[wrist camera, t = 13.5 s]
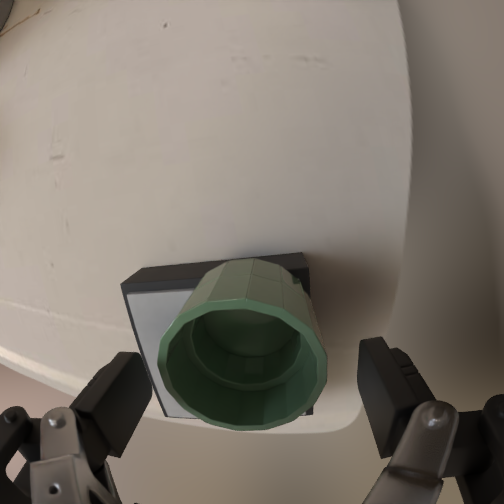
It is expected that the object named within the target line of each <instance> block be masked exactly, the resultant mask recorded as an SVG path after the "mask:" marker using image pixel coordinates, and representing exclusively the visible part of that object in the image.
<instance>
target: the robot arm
mask: <svg viewBox="0 0 504 504" xmlns="http://www.w3.org/2000/svg"><path fill="white" fill-rule="evenodd" d="M357 383H358V389H359V393H360V395H361V398H362V401H363V404H364V407H365V410H366V413H367V416H368V419H369V422H370V425H371V428H372V431H373V435H374V438H375V441H376V444H377V448H378V451H379V454H380V457H381V459H383V458H387V457H391V456H392V458H391V460H390V462H389V463H388V465H387V467H385V468H384V469H383V471H382V473H381V474H380V476H379V477H378V479H377V481H376V482H375V484H374V486H373V487H372V489H371V491H370V492H369V494H368V495H367V497H366V498H365V500H364V501H363V503H362V504H436V502H437V500H438V497H439V495H440V492H441V490H442V486H443V482H444V481H443V480H442V478H445V477H455V478H456V481H457V484H458V487H459V490H460V492H461V495H462V498H463V502H464V504H504V394H500V395H496V396H493V397H491V398H490V399H489V400H488V401H487V402H486V404H485V406H484V408H483V410H478V411H468V412H457V410H456V409H455V408H454V407H453V406H452V405H451V404H449V403H447V402H443V401H437V400H436V399H435V397H434V395H433V394H432V392H431V390H430V389H429V387H428V386H427V384H426V382H425V381H424V379H423V378H422V376H421V375H420V373H418V370H417V368H416V367H415V365H413V362H412V361H411V359H410V358H409V356H408V355H407V354H406V353H404V352H403V351H401V350H400V349H398V348H393V349H389V347H388V345H387V344H386V342H385V340H384V339H383V337H381V336H380V337H375V338H369V339H363V340H361V341H360V344H359V358H358V370H357ZM87 385H88V386H86V387H85V388H84V389H83V390H82V391H81V393H80V394H79V395H78V396H77V398H76V399H75V400H74V401H73V403H72V404H71V405H70V406H69V408H67V407H57V408H54V409H52V410H50V411H48V412H47V413H46V414H45V415H44V416H43V418H30V417H29V415H28V414H27V412H26V411H25V410H24V408H23V407H20V406H14V407H10V408H8V409H6V410H5V411H4V412H3V413H2V414H1V415H0V504H122V502H121V500H120V498H119V495H118V492H117V489H116V486H115V483H114V480H113V478H112V474H111V471H110V468H109V465H108V463H107V461H106V460H105V459H106V458H107V456H108V455H110V456H114V457H118V458H121V456H122V453H123V452H124V450H125V448H126V445H127V444H128V442H129V440H130V438H131V436H132V434H133V432H134V430H135V428H136V426H137V424H138V423H139V421H140V419H141V417H142V415H143V413H144V411H145V409H146V407H147V405H148V403H149V402H150V400H151V397H152V384H151V381H150V379H149V376H148V373H147V371H146V368H145V365H144V362H143V360H142V357H141V355H140V354H139V353H137V352H119V353H118V354H117V355H116V356H115V357H114V359H113V360H112V361H111V362H110V363H109V364H107V365H106V366H104V367H103V368H101V369H100V370H99V371H98V372H97V373H96V374H95V376H94V377H93V380H92V379H91V380H90V382H89V383H88V384H87ZM17 450H18V451H19V452H20V453H21V454H22V455H23V457H24V458H25V459H26V460H27V461H26V463H25V465H24V467H23V468H22V469H21V471H20V472H19V474H18V475H17V477H16V479H15V480H14V482H12V481H11V480H10V479H9V478H8V477H7V475H6V466H7V464H8V463H9V462H10V460H11V458H12V457H13V456H14V454H15V453H16V451H17ZM134 504H138V503H134Z"/></svg>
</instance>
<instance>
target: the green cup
mask: <svg viewBox="0 0 504 504" xmlns="http://www.w3.org/2000/svg"><path fill="white" fill-rule="evenodd" d="M157 366H158V369H159V372H160V375H161V378H162V381H163V383H164V386H165V388H166V390H167V391H168V392H169V393H170V395H171V396H172V397H173V398H174V399H175V400H176V401H177V403H178V404H179V405H180V406H181V407H182V408H183V409H184V410H186V411H187V412H189V413H191V414H192V415H194V416H196V417H197V418H199V419H201V420H203V421H204V422H206V423H209V424H211V425H215V426H219V427H223V428H227V429H231V430H235V431H236V430H237V431H253V430H265V429H266V430H267V429H271V428H274V427H277V426H280V425H283V424H286V423H289V422H292V421H294V420H295V419H296V418H298V417H299V416H300V415H302V414H303V413H304V412H306V411H307V410H308V409H310V408H311V407H312V406H313V405H314V404H315V403H316V401H317V399H318V397H319V395H320V394H321V392H322V390H323V388H324V386H325V385H326V382H327V353H326V350H325V346H324V343H323V339H322V336H321V332H320V329H319V326H318V323H317V319H316V316H315V313H314V309H313V306H312V303H311V300H310V298H309V296H308V294H307V293H306V291H305V289H304V287H303V285H302V283H301V282H300V281H299V280H298V279H297V278H296V277H294V276H293V275H292V274H290V273H289V272H288V271H287V270H285V269H284V268H283V267H281V266H280V265H277V264H274V263H270V262H267V261H263V260H260V259H254V258H251V259H241V260H231V261H228V262H225V263H223V264H222V265H220V266H218V267H216V268H214V269H212V270H210V271H208V272H207V273H206V274H205V275H204V276H203V278H202V279H201V280H200V281H199V283H198V284H197V285H196V287H195V288H194V289H193V291H192V292H191V294H190V295H189V297H188V298H187V299H186V301H185V302H184V304H183V305H182V307H181V308H180V310H179V311H178V313H177V314H176V316H175V317H174V319H173V320H172V321H171V323H170V324H169V326H168V327H167V329H166V330H165V332H164V333H163V335H162V336H161V338H160V343H159V350H158V358H157Z"/></svg>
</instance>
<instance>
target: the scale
mask: <svg viewBox="0 0 504 504" xmlns="http://www.w3.org/2000/svg"><path fill="white" fill-rule="evenodd" d="M251 258H254V259H260V260H263V261H267V262H270V263H274V264H277V265H280V266H281V267H283V268H284V269H285V270H287V271H288V272H289V273H290V274H292V275H293V276H294V277H296V278H297V279H298V280H299V281H300V282H301V283H302V285H303V287H304V289H305V291H306V293H307V294H308V296H309V298H310V281H309V268H308V265H307V263H306V260H305V258H304V256H303V253H302V252H300V253H290V254H280V255H271V256H261V257H251ZM251 258H241V259H251ZM241 259H231V260H241ZM231 260H221V261H211V262H200V263H190V264H180V265H170V266H159V267H149V268H141V269H140V270H139V271H137V272H136V273H135V274H133V275H132V276H130V277H129V278H128V279H126V280H125V281H124V282H122V283H121V284H120V285H121V289H122V293H123V297H124V301H125V304H126V308H127V311H128V315H129V318H130V322H131V325H132V328H133V331H134V335H135V338H136V341H137V344H138V347H139V350H140V353H141V356H142V359H143V362H144V364H145V367H146V370H147V373H148V375H149V378H150V381H151V383H152V386H153V389H154V391H155V394H156V396H157V399H158V401H159V403H160V406H161V408H162V411H163V413H164V415H165V417H174V418H189V419H199V418H197V417H196V416H194V415H192V414H191V413H189V412H187V411H186V410H184V409H183V408H182V407H181V406H180V405H179V404H178V403H177V401H176V400H175V399H174V398H173V397H172V396H171V395H170V393H169V392H168V391H167V390H166V388H165V386H164V383H163V381H162V378H161V375H160V372H159V369H158V366H157V358H158V350H159V343H160V338H161V336H162V335H163V333H164V332H165V330H166V329H167V327H168V326H169V324H170V323H171V321H172V320H173V319H174V317H175V316H176V314H177V313H178V311H179V310H180V308H181V307H182V305H183V304H184V302H185V301H186V299H187V298H188V297H189V295H190V294H191V292H192V291H193V289H194V288H195V287H196V285H197V284H198V283H199V281H200V280H201V279H202V278H203V276H204V275H205V274H206V273H207V272H208V271H210V270H212V269H214V268H216V267H218V266H220V265H222V264H223V263H225V262H228V261H231ZM310 300H311V298H310ZM306 415H313V406H312V407H311V408H310V409H308V410H307V411H306V412H304V413H303V414H302V415H300V416H306Z"/></svg>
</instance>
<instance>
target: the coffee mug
mask: <svg viewBox="0 0 504 504" xmlns="http://www.w3.org/2000/svg"><path fill="white" fill-rule="evenodd" d="M12 3H13V0H0V31H1V29H2V27H3V25H4V24H5V22H6V20H7V17H8V15H9V13H10V10H11V7H12Z"/></svg>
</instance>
